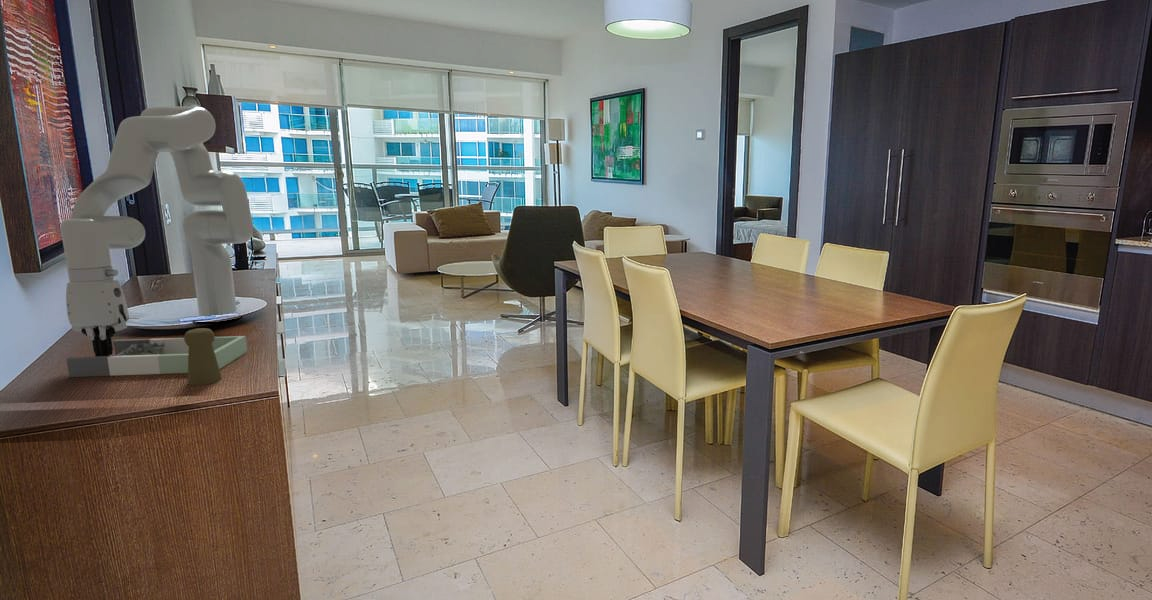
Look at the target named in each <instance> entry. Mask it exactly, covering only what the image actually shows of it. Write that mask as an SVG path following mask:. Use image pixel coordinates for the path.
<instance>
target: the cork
mask: <svg viewBox="0 0 1152 600" xmlns="http://www.w3.org/2000/svg"><path fill="white" fill-rule="evenodd" d="M214 337H215V334H214V331H213V330H212V329H210V328H206V327H205V328H204V327H201V328H200V327H199V328H193V329H189V330H187V331H186V332H185V334H184V336H183V338H184V341H185V343H186V345H188V346H189V351H188V373H187V384H188V385H189V386H206V385H210V384H214V383H218V382H219V381H220V382H221V380H222V379H223V377H222V373H221V371H220V370H221V369H219V366H218V363H217V359H216V356H215V352H214V349H213V345H212V343H213V341H214Z"/></svg>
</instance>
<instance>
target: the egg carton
mask: <svg viewBox="0 0 1152 600" xmlns="http://www.w3.org/2000/svg"><path fill="white" fill-rule="evenodd" d="M164 347H166V346H165V343H162V345H158V344H157V343H156V342H155V343H154V344H149V343H148V344H144V343H143V344H142V345H140V344H139V345H138V344H131V346H130V347H129V348H128V349H125V350H122V352H121V353H119V354H118V355H115V354H112V356H127V355H158V354H165V352H164Z"/></svg>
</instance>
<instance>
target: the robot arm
mask: <svg viewBox="0 0 1152 600" xmlns="http://www.w3.org/2000/svg"><path fill="white" fill-rule="evenodd" d="M215 132H216V120H215V118H214V116H213V114H211V112H210V111H208V109H206V108H204V107H201V106H153V107H148V108H145V109H144V110H142V111H141V113H140V115H137V116H130V117H126V118H125V119H122V121H120V124H119V126H118V128H117V132H116V135H115V139H114V142H113V146H112V149H111V153H110V157H109V159H108V162H107V167H106V169H105V171H104V172H102V174H100V175H99V176H98V177H97V178H95V180H93V181H92V182H91V183H90V184H89V185H88V186H86V188H85V189H84V190H83V191H82V192H81V193H80V194H79V196H78V197H77V199H76V201H75V202H74V205H73V207H72V208H73V209H72V212H71V215H70V218H69V219H65V220H63V221H62V222H61V223H60V225H59V226H60V227H59V228H60V233H61V239H62V246H63V250H64V256H65V261H66V262H65V263H66V269H67V275H68V281H69V282H67V283H66V290H65V291H66V292H65V302H66V303H65V305H66V313H67V320H68V323H69V324H70V325H71V330H72V331H73V332H75V333H82V334H83V335H85V336H86V337H87V339H88V340H89V341H91V343H92V348H93V353H94V357H97V356H113V351H114V346H113V340H112V338H113V337H114V335H115V334H116V333H117V332H119V331H123V330H126V329H127V328H128V325H127V323H126V322H128V321H129V319H130V314H129V309H128V305H127V301H126V296H125V293H124V291H123V288H122V286H121V283H120V281H119V279H114V278H115V276H118V275H119V271H118V269H114V268H113V266H112V260H111V253H110V250H128V249H132V248H136V247H138V246H140V245H141V244H142V243H143V242H144V240H145V238H146V229H145V226H144V225H143V224H142V222H140V221H139V220H137V219H135V218H133V217H130V216H125V215H105V214H106V213H107V211H108V210H109V208H110V207H112V206H113V204H115V203H116V202H118V201H119V200H121V199H124V198H125V197H127V196H129V195H132V194H134V193H137V192H138V191H141V190H142V189H145V188H146V187H148V186H149V185H150V184H151V182H152V178H153V174H154V169H155V165H156V161H157V158H158V155H159V153H170V155H171V157H172V160H173V163H174V167H175V171H176V174H177V175H176V176H177V179H178V185H179V187H180V191H181V195H182V197H183V199H184V201H185V202H186V203H187V204H190V205H193V206H198V207H199V206H201V207H202V206H203V207H207V206H209V207H212V206H213V207H216V206H217V207H219V206H220V207H222V208H223V209H202V210H201V209H200V210H194V211H191V212H190V213H188V214H186V216H185V217H184V218H183V221H182V229H183V233H184V235H185V238H186V240H187V243H188V246H189V250H190V256H191V262H192V271H193V279H194V287H195V294H196V302H197V303H196V304H197V310H198V315H199V316H211V315H223V314H229V313H234V312H235V311H236V310H237V311H238V309H237V307H236V305H238V304H240V305H241V302H240V300H237V299H236V291H235V284H234V283H235V282H234V276H233V275H234V274H233V267H232V265H233V264H232V259H231V256H230V253H229V252H228V250H227V249H226V248H225V246H224V245H225V244H226V245H231V244H232V245H235V244H236V245H237V244H244V243H247V242H249V241H250V240H251V239H252V236H253V233H254V224H253V218H252V214H251V213H252V212H251V208H250V204H249V203H250V202H249V198H248V193H247V188H246V186H245V185H246V184H245V183H244V181H243V179H242V178H241V177H240V175H238V174H236V173H235V172H233V171H229V170H214V168H213V164H212V162H211V157H210V154H209V151H208V150H207V148H206V146H205V145H204V143H205V142H207V141H209V140H210V139H211V138H212V137H213V136H214V134H215Z"/></svg>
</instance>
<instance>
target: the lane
mask: <svg viewBox="0 0 1152 600" xmlns="http://www.w3.org/2000/svg"><path fill="white" fill-rule="evenodd" d="M155 342H156V343H157V344H158V345H162V343H165V346H166V347H164V352H165V354H158V355H127V356H113V355H109V356H97V357H95V356H78V357H77V356H70V357H68V358H66V365H67V370H68V376H69V378H79V377H81V378H83V377H85V378H86V377H106V376H108V377H109V376H132V375H133V376H135V375H136V376H137V375H138V376H139V375H163V374H166V375H167V374H188V351H189V346H188V345H186V343H185V341H184V337H167V338H166V337H165V338H161V337H160V338H136V339H135V338H132V339H131V338H129V339H127V338H126V339H115V340H112V345H113V351H114V355H118V354H119V353H121V352H122V350H125V349H128V348H129V347H130V346H131V344H138V345H139V344H140V345H142V344H143V343H144V344H148V343H149V344H154V343H155ZM212 345H213V349H214V352H215V356H216V359H217V363H218V366H219V370H221V369H222V368H224V367H226V366H227V365H229V364H230V363H232V362H233V361H235V360H237V359H238V358H240V357H241V356H243V355H245V354H246V353H247V352H248V344H247V336H246V335H234V336H233V335H231V336H229V335H228V336H214V341H213V343H212Z"/></svg>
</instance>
